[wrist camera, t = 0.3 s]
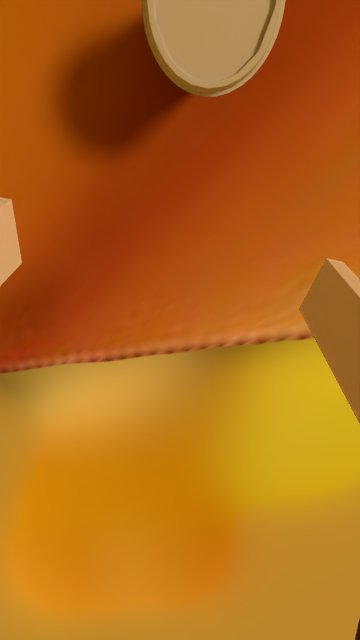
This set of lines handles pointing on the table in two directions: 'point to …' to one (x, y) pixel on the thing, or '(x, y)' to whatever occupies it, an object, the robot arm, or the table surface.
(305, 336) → the table surface
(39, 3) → the table surface
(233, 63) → the disposable coffee cup
